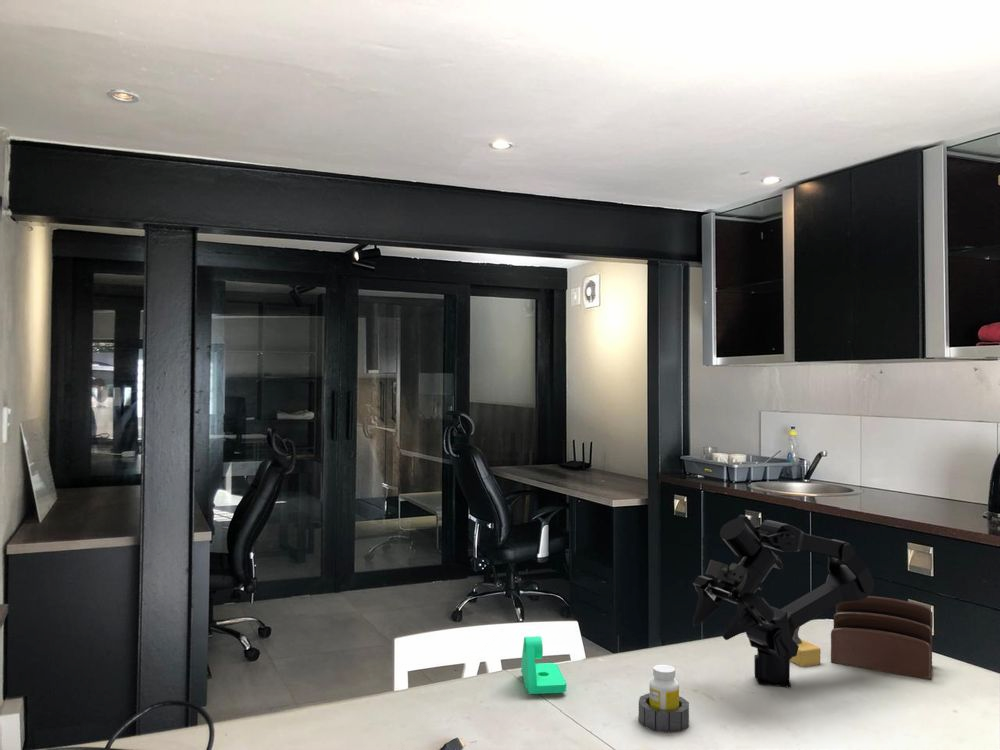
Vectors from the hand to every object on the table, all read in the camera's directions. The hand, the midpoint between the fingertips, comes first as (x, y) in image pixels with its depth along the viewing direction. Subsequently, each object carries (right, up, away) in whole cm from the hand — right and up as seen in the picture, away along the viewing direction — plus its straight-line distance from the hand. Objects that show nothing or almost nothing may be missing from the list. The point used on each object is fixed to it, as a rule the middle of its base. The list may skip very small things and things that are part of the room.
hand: (708, 631), depth 157 cm
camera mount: (-33, -13, +4) cm, 36 cm away
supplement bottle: (-12, -13, -12) cm, 21 cm away
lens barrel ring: (-12, -12, -13) cm, 21 cm away
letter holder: (+43, -13, +17) cm, 48 cm away
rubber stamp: (+25, -13, +21) cm, 35 cm away
